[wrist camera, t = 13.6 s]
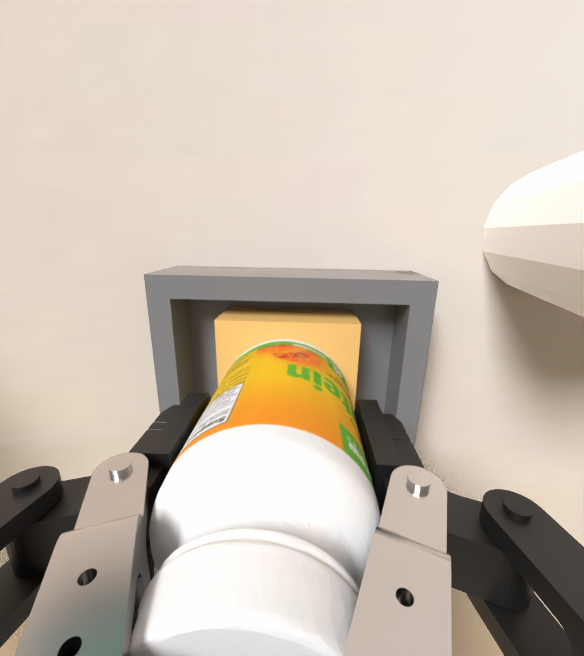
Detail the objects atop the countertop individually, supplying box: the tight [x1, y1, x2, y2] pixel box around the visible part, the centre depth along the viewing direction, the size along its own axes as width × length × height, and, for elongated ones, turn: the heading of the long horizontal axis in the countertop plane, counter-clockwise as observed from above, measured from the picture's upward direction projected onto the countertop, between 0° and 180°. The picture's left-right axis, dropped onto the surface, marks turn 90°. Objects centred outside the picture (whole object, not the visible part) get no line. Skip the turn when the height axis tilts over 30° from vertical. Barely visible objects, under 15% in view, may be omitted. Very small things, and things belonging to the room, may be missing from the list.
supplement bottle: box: [129, 339, 381, 656], centre depth 9 cm, size 5×5×10 cm
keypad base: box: [144, 266, 439, 446], centre depth 19 cm, size 32×12×4 cm, turn 179°
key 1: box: [214, 307, 361, 410], centre depth 15 cm, size 6×6×2 cm
